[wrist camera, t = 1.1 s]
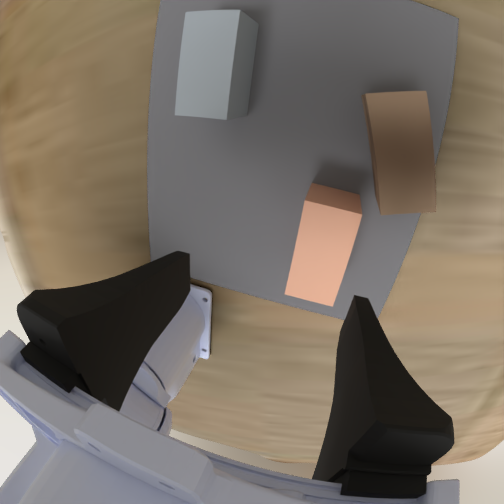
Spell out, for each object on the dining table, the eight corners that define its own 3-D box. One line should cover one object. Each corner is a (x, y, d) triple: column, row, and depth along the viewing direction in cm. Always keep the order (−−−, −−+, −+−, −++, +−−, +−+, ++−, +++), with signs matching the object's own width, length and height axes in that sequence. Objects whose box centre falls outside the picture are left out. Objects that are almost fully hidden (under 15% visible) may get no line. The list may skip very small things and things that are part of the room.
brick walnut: (421, 192, 17) (436, 211, 14) (375, 195, 18) (380, 215, 15) (411, 92, 14) (426, 90, 11) (361, 95, 15) (365, 93, 12)
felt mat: (373, 323, 23) (373, 326, 23) (153, 263, 27) (151, 265, 26) (456, 19, 11) (458, 18, 10) (166, -14, 14) (163, -16, 14)
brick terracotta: (336, 276, 22) (332, 306, 19) (294, 265, 22) (284, 294, 19) (359, 194, 18) (362, 214, 15) (311, 182, 19) (304, 200, 16)
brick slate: (247, 115, 18) (226, 120, 15) (201, 111, 19) (174, 115, 16) (258, 24, 15) (240, 9, 12) (211, 23, 15) (185, 11, 12)
